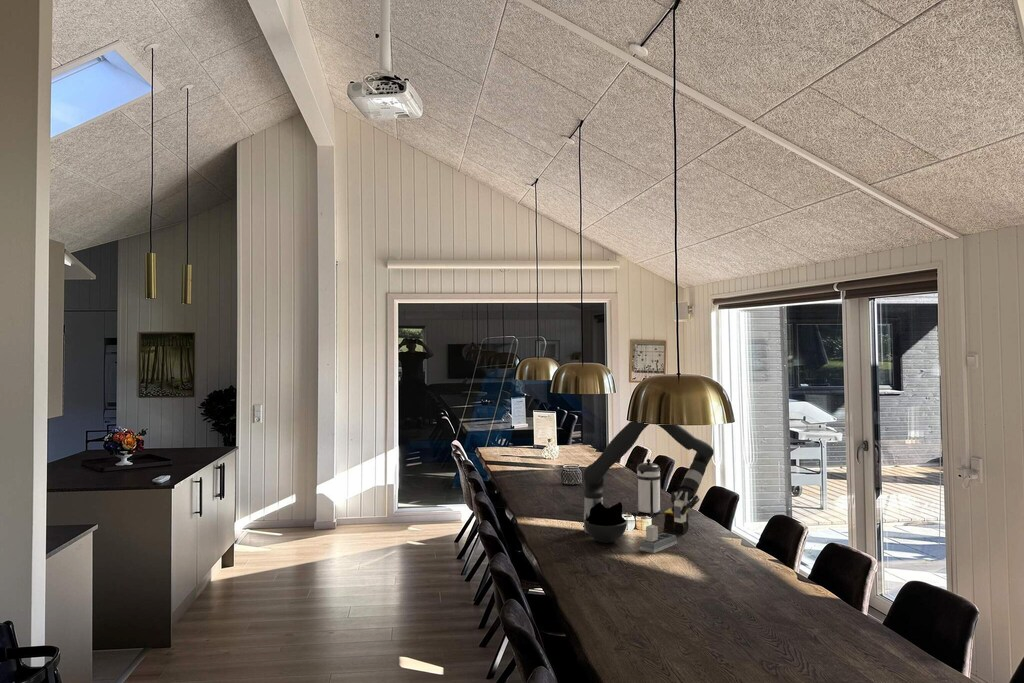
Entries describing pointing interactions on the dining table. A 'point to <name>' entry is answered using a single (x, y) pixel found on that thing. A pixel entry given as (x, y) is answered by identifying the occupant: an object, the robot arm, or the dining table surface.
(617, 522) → the coal bowl
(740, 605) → the dining table surface
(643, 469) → the coffee press
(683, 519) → the tall off-white block
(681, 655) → the dining table surface
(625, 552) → the dining table surface
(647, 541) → the gray compartment block tray
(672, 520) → the candle
